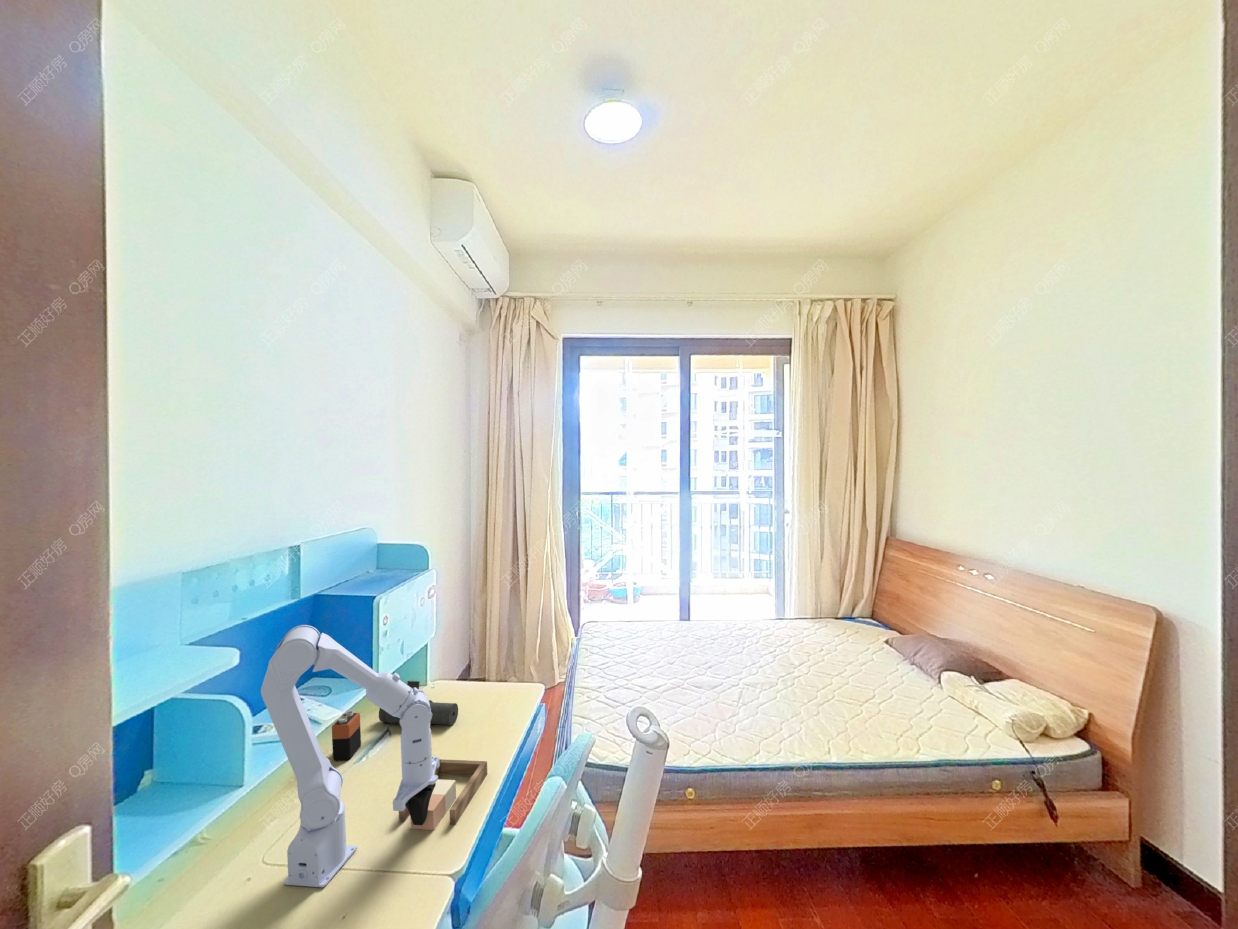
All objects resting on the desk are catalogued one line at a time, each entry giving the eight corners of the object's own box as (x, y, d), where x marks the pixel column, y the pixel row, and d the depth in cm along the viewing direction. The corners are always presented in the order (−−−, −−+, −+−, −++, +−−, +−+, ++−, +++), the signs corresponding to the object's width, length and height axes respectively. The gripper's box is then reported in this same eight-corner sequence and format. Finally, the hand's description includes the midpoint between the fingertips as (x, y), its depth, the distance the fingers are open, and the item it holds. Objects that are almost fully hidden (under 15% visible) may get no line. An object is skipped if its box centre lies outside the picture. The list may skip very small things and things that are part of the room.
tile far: (445, 813, 110) (445, 794, 110) (423, 812, 111) (422, 793, 111) (456, 798, 115) (455, 780, 115) (435, 797, 116) (434, 779, 115)
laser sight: (445, 733, 143) (444, 697, 143) (371, 730, 147) (370, 694, 147) (461, 716, 153) (460, 682, 153) (392, 713, 156) (390, 680, 156)
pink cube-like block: (433, 830, 105) (433, 810, 105) (410, 828, 106) (410, 809, 106) (445, 813, 110) (444, 794, 110) (423, 812, 111) (422, 793, 111)
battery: (332, 762, 131) (330, 722, 131) (345, 747, 138) (343, 709, 138) (349, 760, 131) (348, 721, 131) (361, 746, 138) (360, 708, 138)
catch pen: (455, 824, 106) (455, 810, 106) (399, 821, 108) (398, 806, 108) (487, 774, 123) (487, 761, 123) (438, 771, 125) (437, 759, 125)
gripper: (416, 778, 96) (419, 851, 96) (451, 737, 111) (454, 800, 111) (381, 777, 97) (384, 849, 97) (420, 735, 112) (423, 798, 112)
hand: (419, 823), depth 104 cm, fingers closed
